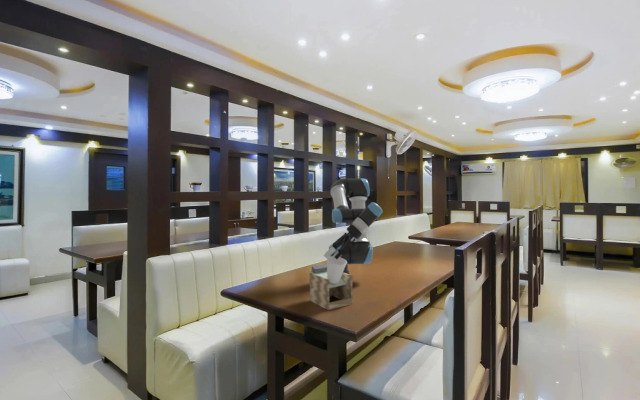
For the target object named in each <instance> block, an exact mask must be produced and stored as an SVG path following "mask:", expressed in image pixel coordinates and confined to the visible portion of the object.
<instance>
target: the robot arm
mask: <svg viewBox="0 0 640 400" xmlns="http://www.w3.org/2000/svg"><path fill="white" fill-rule="evenodd" d="M370 191H371V189H370V183H369V181H368V179H366V178H361V177H359V178H358V177H357V178H340V179H338V180H336V181H335V182H333V184H332V185H331V186H330V191H329V192H330V196H331V197H332V200H333V207H334V208H333V209H331V211H332V212H331V220H332V223H334V224H349V226H348V227H347V228H346V231H347V232H345V233H343V234H342V235H341V236H340V237H339V238H338V239H336V240H335V241H334V242H333V243H331V244H330V245H329V246H328V250H327V251H325V253H324V254H323V257H324V258H326V259H327V258H328V257H330V256H332V257H331V258H330V259H329V260H328V262H329V263H330V264H332V265H333V264H334V263H335V262H336V261H337V260H338V259H339V258H340V257H341V258H343V259H345V260H346V261H347V264H346V266H345V268H344V271H343V272H344V273H347V274H350V271H349V265H368V264H371V263H372V260H373V253H374V247H373V244H370V243H371V242H370V240H369V239H368V236H367V235H368V234H367V232H368V229H369V228H370V227H371V225H372V224H374V222H375V221H376V220H377V219H378V218H379V217H380V216H381V215H382V214H383V212H384V211H383V209H382V208H381V206H380V205H378V204H377V203H376V202H371V203H369V204H368V205H367V206H366V201H367V200H368V197H369V196H370V193H371V192H370ZM347 197H348V199H349V201H350V202H351V208H349V205H348V201H347V200H348V199H347Z"/></svg>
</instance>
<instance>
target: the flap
mask: <svg viewBox="0 0 640 400" xmlns="http://www.w3.org/2000/svg"><path fill="white" fill-rule="evenodd" d="M310 273H313V274H315V275H318V276H320V277H323V278H325V279H327V263H323V264H317V265H312V266H311V270H309V274H310ZM342 285H346V283H345V282H344V281H343V280H342V279H340V281H339V283H337V284H333V283H330V282H329V288H333V287H337V286H342Z"/></svg>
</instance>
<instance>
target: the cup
mask: <svg viewBox="0 0 640 400" xmlns="http://www.w3.org/2000/svg"><path fill="white" fill-rule="evenodd" d="M331 257H332V256H330V257H328V258H326V260H327V263H326V264H327V279H328V280H329V282H330V283H333V284H337V283H339V281H340V279H341V276H342V273H343V271H344V268H345V266H346V264H347V261H346V260H345V259H343V258H341V257H340V258H339V259H338V260H337V261H336V262H335V263H334V264H333V265H332V264H330V263H329V262H328V260H329V259H330V258H331Z"/></svg>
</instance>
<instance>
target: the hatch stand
mask: <svg viewBox="0 0 640 400" xmlns="http://www.w3.org/2000/svg"><path fill="white" fill-rule="evenodd" d="M341 279H342V280H343V281H344V282H345V283H346V285H342V286H337V287H333V288H329V280H328V279H325V278H323V277H320V276H318V275H315V274H313V273H309V302H311V303H314V304H316V305H317V306H319V307H321V308H324V309H325V310H327V311H331V310H335V309H339V308H342V307H347V306H350V305H353V303H354V302H353V299H354V298H353V275H352V274H350V273H349V274H347V273H344V272H343V273H342V276H341ZM330 297H335V298H337V299H339V300H335V301H330Z"/></svg>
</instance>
